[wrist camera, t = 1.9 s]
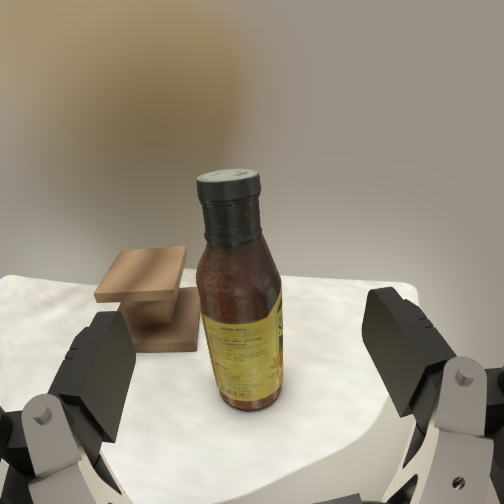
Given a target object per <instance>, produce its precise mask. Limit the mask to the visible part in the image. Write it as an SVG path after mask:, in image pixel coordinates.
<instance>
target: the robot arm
mask: <svg viewBox="0 0 504 504" xmlns="http://www.w3.org/2000/svg"><path fill="white" fill-rule="evenodd" d="M362 338H363V342H364V344H365V346H366V348H367V350H368V352H369V354H370V356H371V358H372V360H373V362H374V364H375V366H376V368H377V370H378V372H379V374H380V376H381V378H382V380H383V382H384V384H385V386H386V389H387V391H388V393H389V395H390V397H391V399H392V401H393V403H394V405H395V407H396V409H397V412H398V414H399V416H400V417H404V416H407V415H410V414H413V415H414V417H415V419H416V420H415V421H414V423H413V426H412V429H411V432H410V436H409V439H408V442H407V445H406V448H405V451H404V454H403V457H402V460H401V462H400V465H399V468H398V470H397V473H396V475H395V477H394V479H393V480H392V482H391V483H390V485H389V487H388V489H387V491H386V492H385V494H384V496H383V499H382V501H381V502H378V501H361V498H360V495H359V493H357V494H354V495H350V496H346V497H342V498H338V499H333V500H329V501H324V502H319V503H314V504H484V501H485V497H486V492H487V488H488V482H489V477H490V478H491V480H492V483H493V486H494V488H495V490H496V493H497V496H498V499H499V502H500V504H504V366H503V368H493V369H484V368H483V367H482V366H481V365H480V364H479V363H478V362H477V361H475V360H473V359H471V358H468V357H457V356H456V354H455V353H454V351H453V350H452V349H451V347H450V346H449V345H448V344H447V342H446V341H445V340H444V338H443V337H442V336H441V334H440V333H439V332H438V330H437V329H436V328H435V327H433V324H432V323H431V322H430V320H429V319H427V317H426V315H425V314H424V313H423V312H422V310H421V309H420V308H419V307H418V306H416V305H415V304H413V303H412V302H410V301H409V300H407V299H405V300H403V299H402V298H401V296H400V295H399V294H398V293H397V291H396V290H395V289H394V288H393V287H385V288H378V289H371V290H370V291H369V292H368V296H367V301H366V307H365V313H364V318H363V323H362ZM135 363H136V352H135V347H134V344H133V341H132V339H131V336H130V334H129V331H128V328H127V326H126V323H125V320H124V317H123V315H122V313H121V312H120V311H106V312H97V313H96V315H95V317H94V319H93V321H92V322H91V324H90V326H89V327H85V328H84V329H83V330H82V331H81V332H80V333H79V334H78V335H77V336H76V337H75V338H74V340H73V342H72V344H71V346H70V350H68V352H67V354H66V356H65V360H63V362H62V364H61V366H60V368H59V370H58V372H57V374H56V376H55V378H54V380H53V382H52V384H51V387H50V389H49V391H48V393H47V394H41V395H38V396H35V397H34V398H32V399H31V400H30V401H29V402H28V403H27V404H26V405H25V407H24V409H23V410H22V411H13V412H5V411H4V410H3V409H2V408H1V406H0V461H1V458H2V459H3V460H5V461H6V462H7V463H8V464H9V468H8V471H7V475H6V479H5V482H4V487H3V491H2V495H1V498H0V504H133V502H132V501H131V500H130V499H129V497H128V496H127V494H126V493H125V491H124V490H123V488H122V486H121V485H120V483H119V481H118V480H117V478H116V476H115V475H114V473H113V471H112V469H111V468H110V466H109V464H108V462H107V460H106V458H105V456H104V455H103V453H102V451H101V450H100V448H101V444H102V442H109V443H115V441H116V437H117V432H118V428H119V424H120V420H121V416H122V412H123V408H124V404H125V400H126V396H127V392H128V388H129V385H130V381H131V377H132V374H133V370H134V367H135Z"/></svg>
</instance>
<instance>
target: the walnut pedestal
mask: <svg viewBox="0 0 504 504" xmlns="http://www.w3.org/2000/svg"><path fill="white" fill-rule="evenodd" d="M186 257H187V251H186V246H177V247H165V248H153V249H142V250H130V251H121V252H120V253H119V254H118V256H117V257H116V259H115V261H114V262H113V264H112V265H111V267H110V268H109V270H108V271H107V273H106V274H105V276H104V278H103V279H102V281H101V282H100V284H99V286H98V287H97V289H96V290H95V292H94V296H95V299H96V302H97V303H109V302H121V303H120V306H119V308H118V310H117V311H120V312H121V313H122V315H123V317H124V320H125V323H126V326H127V328H128V331H129V334H130V336H131V339H132V341H133V344H134V347H135V352H187V351H196V349H197V339H198V329H199V319H200V297H199V293H198V288H197V287H187V288H179V285H180V281H181V277H182V273H183V269H184V265H185V261H186Z"/></svg>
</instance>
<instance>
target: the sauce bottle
mask: <svg viewBox="0 0 504 504" xmlns="http://www.w3.org/2000/svg"><path fill="white" fill-rule="evenodd" d="M196 181H197V192H198V198H199V201H200V203H201V205H202V209H203V215H204V223H205V233H204V236H205V239H206V240H207V245H206V249H205V251H204V253H203V254H202V257H201V259H200V261H199V264H198V267H197V272H196V284H197V288H198V293H199V297H200V311H201V316H202V321H203V326H204V331H205V335H206V340H207V345H208V349H209V354H210V358H211V363H212V367H213V371H214V375H215V379H216V384H217V387H219V390H220V393H221V396H222V398H223V399H224V400H225V401H226V402H227V403H229V404H230V405H232V406H235V407H237V408H239V409H244V410H254V409H259V408H262V407H264V406H267V405H269V404H270V403H272V402H273V401H274V400H275V399H276V398H277V396H278V394H279V393H280V391H281V383H282V380H283V319H282V286H281V278H280V275H279V273H278V270H277V268H276V265H275V263H274V261H273V258H272V256H271V253H270V251H269V248H268V246H267V243H266V241H265V239H264V236H263V234H262V228H261V226H260V210H259V200H258V197H259V195H260V192H261V185H260V176H259V173H258V172H257V171H255V170H251V169H228V170H220V171H214V172H210V173H207V174H203V175H201V176H199V177H198V178H197V180H196Z"/></svg>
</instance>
